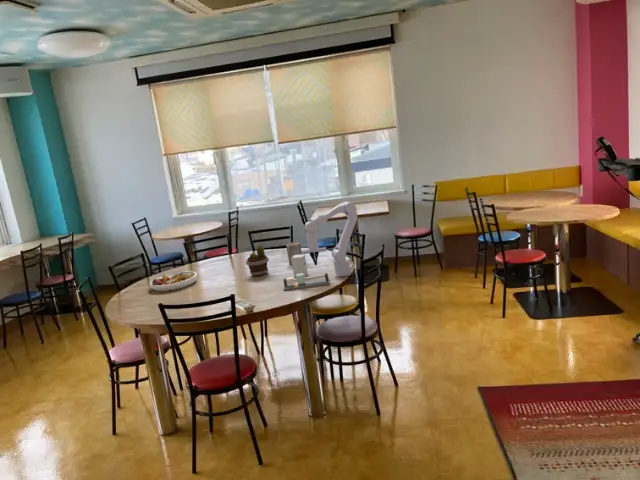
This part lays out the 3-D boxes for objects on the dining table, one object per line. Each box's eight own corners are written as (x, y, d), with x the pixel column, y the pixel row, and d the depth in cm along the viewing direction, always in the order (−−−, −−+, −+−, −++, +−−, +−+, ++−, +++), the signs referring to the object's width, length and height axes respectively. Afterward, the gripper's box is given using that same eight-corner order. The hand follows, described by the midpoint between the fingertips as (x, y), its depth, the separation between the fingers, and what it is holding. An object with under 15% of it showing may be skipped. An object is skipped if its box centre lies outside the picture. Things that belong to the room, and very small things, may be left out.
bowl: (183, 276, 360) (181, 265, 358) (206, 281, 338) (204, 269, 337) (143, 289, 340) (140, 278, 338) (165, 295, 318) (162, 283, 317)
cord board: (329, 279, 301) (327, 270, 299) (329, 284, 291) (327, 275, 290) (285, 285, 302) (283, 276, 301) (283, 290, 292) (282, 281, 291)
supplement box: (305, 276, 314) (302, 257, 311) (293, 277, 315) (290, 258, 313) (308, 273, 321) (305, 253, 318) (296, 274, 322) (293, 254, 320)
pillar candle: (295, 260, 357) (291, 239, 354) (306, 261, 351) (302, 239, 348) (286, 264, 350) (282, 243, 346) (297, 265, 344) (293, 243, 341)
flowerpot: (252, 279, 325) (247, 249, 321) (245, 274, 339) (240, 245, 335) (274, 274, 331) (269, 244, 326) (266, 269, 344) (261, 240, 340)
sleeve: (304, 280, 298) (303, 273, 297) (304, 282, 294) (303, 275, 293) (297, 281, 298) (296, 273, 297) (297, 283, 294) (296, 275, 293)
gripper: (299, 245, 295) (303, 267, 298) (324, 241, 295) (328, 264, 298) (300, 242, 302) (303, 264, 305) (325, 239, 302) (328, 261, 304)
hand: (315, 264), depth 302 cm, fingers closed
